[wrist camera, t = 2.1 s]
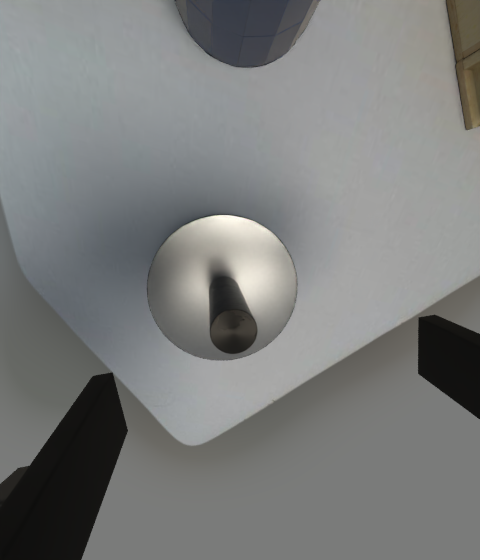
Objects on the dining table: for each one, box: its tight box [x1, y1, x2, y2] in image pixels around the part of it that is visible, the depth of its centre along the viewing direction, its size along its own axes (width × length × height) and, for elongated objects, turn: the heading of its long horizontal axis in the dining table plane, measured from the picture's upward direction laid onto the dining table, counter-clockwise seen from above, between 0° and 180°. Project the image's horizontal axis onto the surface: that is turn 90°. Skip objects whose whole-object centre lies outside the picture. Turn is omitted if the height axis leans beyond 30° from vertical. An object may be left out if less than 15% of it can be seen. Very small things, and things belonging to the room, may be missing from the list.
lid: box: [147, 215, 297, 360], centre depth 23 cm, size 14×14×11 cm
